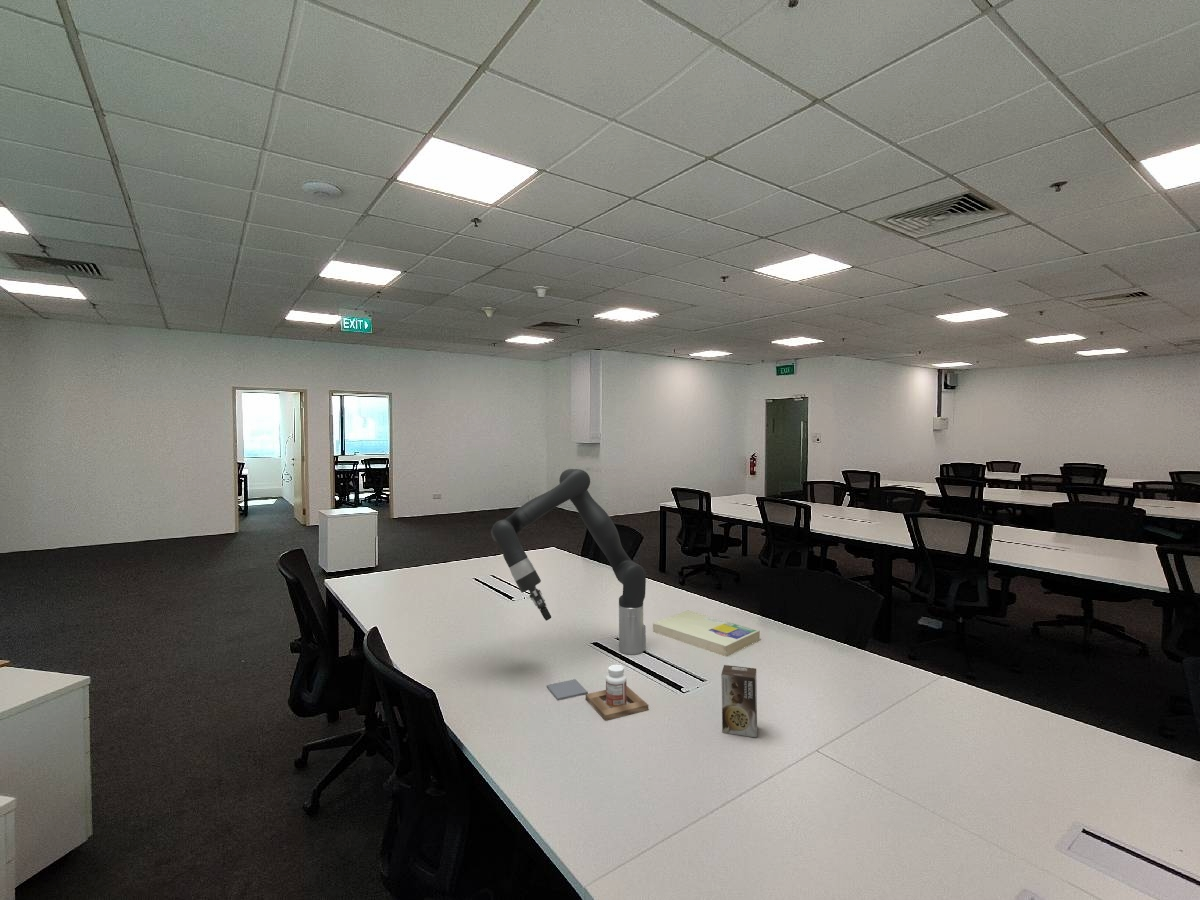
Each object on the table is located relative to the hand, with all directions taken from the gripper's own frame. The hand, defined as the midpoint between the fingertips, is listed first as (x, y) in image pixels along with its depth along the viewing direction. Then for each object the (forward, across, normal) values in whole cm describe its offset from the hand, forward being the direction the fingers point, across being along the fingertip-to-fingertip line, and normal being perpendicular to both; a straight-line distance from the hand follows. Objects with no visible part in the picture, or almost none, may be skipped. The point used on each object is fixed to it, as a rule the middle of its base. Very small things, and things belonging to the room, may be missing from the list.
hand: (548, 618), depth 176 cm
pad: (+22, -3, +5) cm, 23 cm away
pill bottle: (+31, -14, -5) cm, 35 cm away
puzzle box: (+42, +34, -52) cm, 75 cm away
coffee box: (+49, -33, -30) cm, 67 cm away
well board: (+31, -14, -6) cm, 34 cm away
